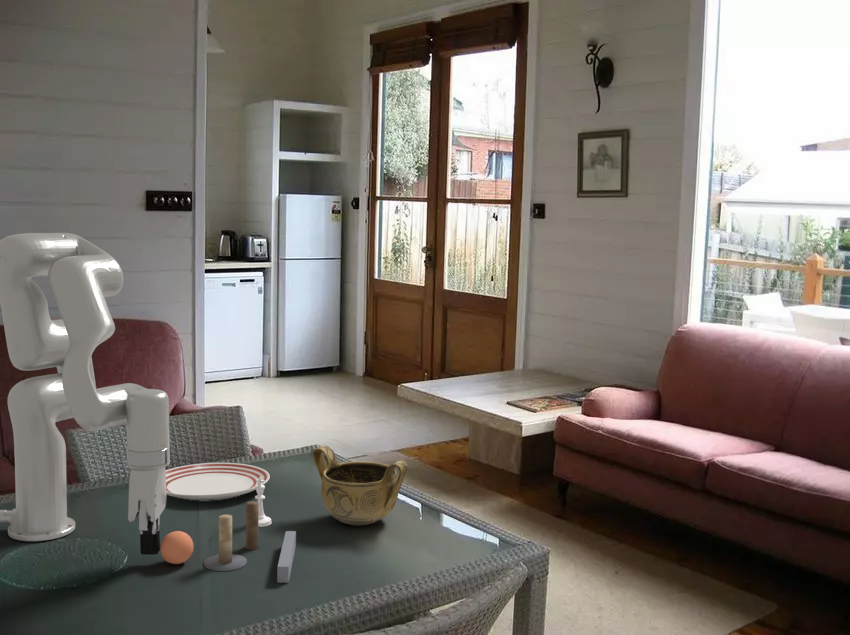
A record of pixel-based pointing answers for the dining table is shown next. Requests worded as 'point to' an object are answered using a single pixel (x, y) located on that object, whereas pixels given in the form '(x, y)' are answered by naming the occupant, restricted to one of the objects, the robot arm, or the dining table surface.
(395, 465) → the ceramic bowl
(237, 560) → the pin spot
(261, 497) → the chess piece
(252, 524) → the walnut pin
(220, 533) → the beech pin
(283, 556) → the back wall
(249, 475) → the dinner plate
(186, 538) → the ball
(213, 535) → the dining table surface
